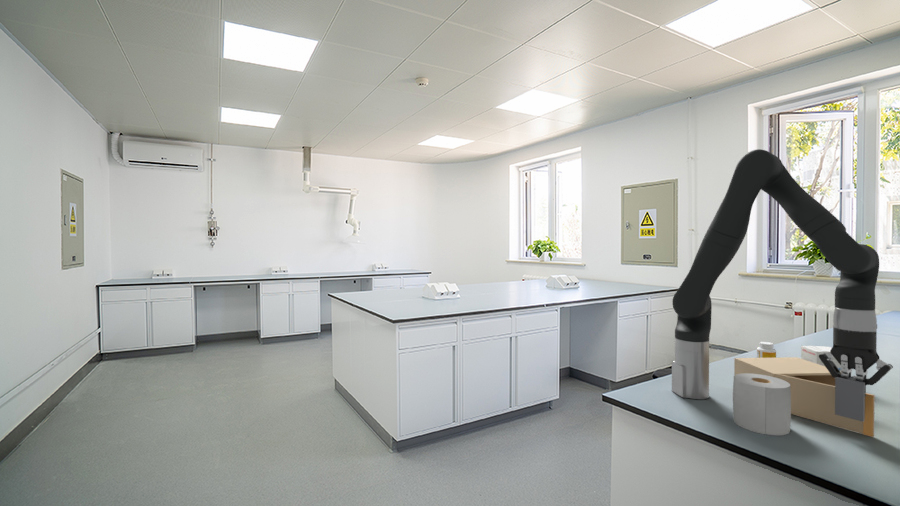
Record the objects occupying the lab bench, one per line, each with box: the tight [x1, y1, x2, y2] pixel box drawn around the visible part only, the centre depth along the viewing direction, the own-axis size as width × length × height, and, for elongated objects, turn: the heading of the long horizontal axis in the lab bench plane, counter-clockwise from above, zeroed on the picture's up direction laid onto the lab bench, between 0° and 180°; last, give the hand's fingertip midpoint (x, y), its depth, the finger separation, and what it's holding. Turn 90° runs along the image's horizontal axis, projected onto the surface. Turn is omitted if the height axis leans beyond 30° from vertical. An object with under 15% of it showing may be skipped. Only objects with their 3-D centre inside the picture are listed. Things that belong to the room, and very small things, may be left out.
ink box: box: [800, 345, 841, 372], centre depth 137 cm, size 9×8×12 cm
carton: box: [733, 356, 835, 386], centre depth 125 cm, size 20×16×10 cm
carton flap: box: [774, 373, 876, 438], centre depth 107 cm, size 20×6×14 cm, turn 32°
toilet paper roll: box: [732, 373, 792, 437], centre depth 107 cm, size 12×12×12 cm
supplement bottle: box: [756, 341, 777, 358], centre depth 151 cm, size 6×6×10 cm
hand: (853, 398), depth 101 cm, fingers closed
